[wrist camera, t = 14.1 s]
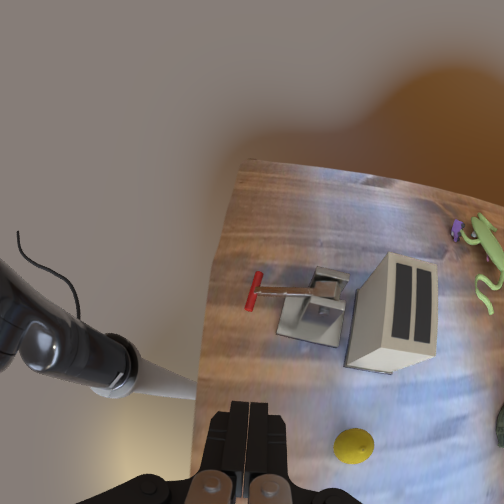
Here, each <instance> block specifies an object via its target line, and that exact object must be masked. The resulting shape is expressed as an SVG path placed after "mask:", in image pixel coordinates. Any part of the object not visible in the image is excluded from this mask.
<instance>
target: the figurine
mask: <svg viewBox="0 0 504 504" xmlns="http://www.w3.org/2000/svg"><path fill="white" fill-rule="evenodd" d="M477 215H478V217H479V219H480V220H479V219H478V218H476V217H472V218H471V223H472V226H473V229H474V231H473V232H472V234H471V235H472V236H473V237H474V238H475V237H478V239H475V240H471V239H469V238H468V237H467V236H466V235H465V233H464V231H463V228H464V227H465V224H464V223H463V222H461V221H458V220H456V219H455V221H454V224H453V227H452V230H451V235H452V236H453V237H454V241H455V242H457V241H459V239H460V238H459V237H460V236H461V235H462V237H463V238H464V240H465V241H466V242H467V243H468V244H470V245H476V244H479V243H481V245H482V246H483V248H484V250H485V251H486V254H487V261H488V262H489V257H490V259H491V260H492V262H493V263H494V264H495V265H496V267H497V268H498V269H499V270H500V271H501V274H500V279H499V282H498V284H497V285H494V284H493V283H492V282H491V281H490V280H489V279H488V278H487V277H486V276H484V275H482V274H478V275H477V276H476V277H475V292H476V294H477V296H478V297H479V299H480V300H482V301H483V302H484V303H485V305H486V306H487V308H488V311H489V315H492V314H493V313H494V311H493V307H492V304H491V302H490V301H489V299H488V298H487V297H486V296H485V295H483V294H482V293H481V292H480V291H479V290H478V288H477V281H478V280H482V281H484V282H485V283H486V284H487V285H488V286H489V287H490V288H491V289H492V290H499V289H500V288H501V287H502V284H503V281H504V252H503V250H502V248H501V246H500V244H499V243H498V241H497V240H496V238H495V237H494V235H493V234H492V233H491V231H490V229H491V230H492V231H493V232H496V231H497V230H498V229H496V228H495V227H494V226H493V225H492V224H491V223H490V222H489V221H488V220H487V219H486V218H485V217H484V216H483V215H482V214H481V213H478V214H477ZM489 228H490V229H489Z"/></svg>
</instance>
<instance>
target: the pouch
mask: <svg viewBox="0 0 504 504" xmlns="http://www.w3.org/2000/svg"><path fill="white" fill-rule="evenodd" d="M496 434H497V437H498V441H499V443H498V446H499V447H502V448H504V406H503V408H502V410H501V411H500V413H499V416H498V420H497V426H496Z"/></svg>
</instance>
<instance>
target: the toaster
mask: <svg viewBox="0 0 504 504" xmlns="http://www.w3.org/2000/svg"><path fill="white" fill-rule="evenodd" d="M437 326H438V276H437V265H435V264H432V263H428V262H425V261H421V260H418V259H414V258H410V257H407V256H403V255H399V254H396V253H392V252H388V253H387V255H386V256H385V257H384V259H383V260H382V261H381V263H380V264H379V265H378V267H377V268H376V269H375V271H374V272H373V273H372V274H371V276H370V277H369V278H368V280H367V281H366V282H365V283H364V285H363V286H362V287H361V288H360V289H357V290H356V294H355V301H354V308H353V315H352V322H351V328H350V334H349V340H348V345H347V351H346V356H345V361H344V366H343V367H346V368H351V369H357V370H363V371H369V372H375V373H382V374H388V375H391V374H393V372H394V371H397V370H400V369H403V368H406V367H408V366H411V365H414V364H417V363H420V362H422V361H425V360H428V359H430V358H433V357H435V356H436V345H437Z"/></svg>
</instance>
